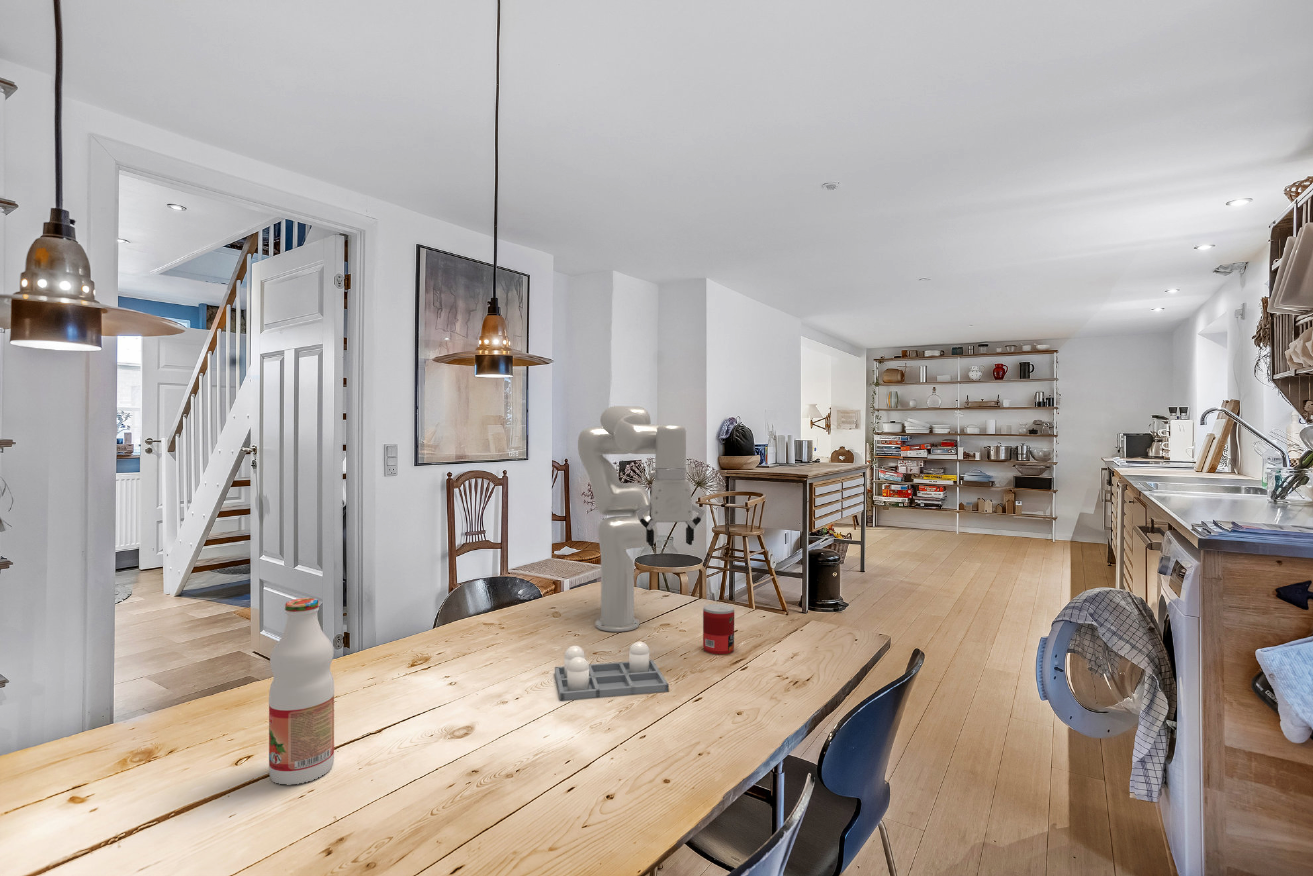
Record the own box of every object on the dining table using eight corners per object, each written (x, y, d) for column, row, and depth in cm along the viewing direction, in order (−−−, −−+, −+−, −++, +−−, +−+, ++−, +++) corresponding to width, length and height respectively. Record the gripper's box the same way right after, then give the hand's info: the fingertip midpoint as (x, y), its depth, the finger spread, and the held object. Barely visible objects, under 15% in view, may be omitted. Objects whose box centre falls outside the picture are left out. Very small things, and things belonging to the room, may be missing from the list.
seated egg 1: (563, 675, 148) (563, 643, 148) (583, 674, 150) (583, 642, 149) (565, 683, 144) (565, 650, 144) (586, 681, 145) (586, 648, 145)
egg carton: (554, 675, 150) (554, 667, 150) (652, 668, 155) (652, 659, 155) (560, 703, 135) (560, 693, 135) (668, 693, 140) (668, 684, 140)
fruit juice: (320, 785, 103) (320, 608, 103) (257, 788, 102) (257, 609, 102) (343, 756, 112) (343, 593, 112) (285, 758, 111) (285, 594, 111)
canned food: (735, 655, 164) (735, 611, 164) (703, 654, 165) (704, 611, 165) (732, 645, 172) (732, 603, 172) (702, 645, 172) (702, 603, 172)
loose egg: (627, 670, 152) (627, 639, 152) (646, 669, 153) (647, 638, 153) (631, 678, 147) (631, 645, 147) (651, 676, 148) (651, 644, 148)
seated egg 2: (566, 688, 141) (566, 654, 141) (587, 686, 142) (587, 653, 142) (568, 696, 137) (568, 661, 137) (590, 694, 138) (590, 660, 138)
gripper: (639, 476, 155) (638, 548, 155) (708, 476, 159) (708, 546, 159) (633, 474, 163) (632, 543, 163) (699, 474, 167) (699, 541, 167)
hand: (670, 544), depth 161 cm, fingers open, 9 cm apart
